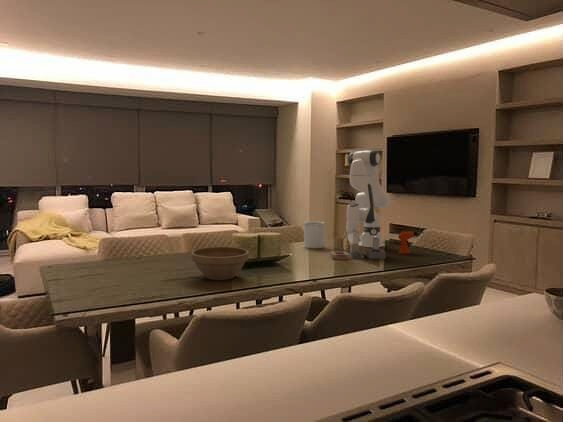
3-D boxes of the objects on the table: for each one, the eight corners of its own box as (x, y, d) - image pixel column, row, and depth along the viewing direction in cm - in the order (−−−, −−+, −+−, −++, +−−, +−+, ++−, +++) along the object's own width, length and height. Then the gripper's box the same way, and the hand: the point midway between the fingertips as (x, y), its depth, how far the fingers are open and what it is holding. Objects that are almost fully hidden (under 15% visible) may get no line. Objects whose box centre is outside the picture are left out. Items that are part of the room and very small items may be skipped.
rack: (330, 256, 289) (330, 251, 288) (346, 256, 289) (346, 251, 289) (332, 259, 279) (332, 254, 278) (349, 259, 279) (349, 254, 279)
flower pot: (254, 281, 221) (254, 254, 220) (194, 285, 213) (194, 257, 212) (242, 269, 248) (242, 245, 247) (189, 272, 240) (188, 247, 239)
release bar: (350, 254, 295) (350, 245, 294) (357, 254, 295) (358, 245, 295) (351, 255, 291) (351, 246, 290) (359, 255, 291) (359, 246, 291)
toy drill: (427, 250, 303) (425, 228, 301) (401, 255, 299) (399, 232, 297) (423, 249, 307) (421, 227, 306) (397, 254, 304) (395, 231, 302)
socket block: (366, 255, 291) (366, 249, 291) (381, 255, 291) (381, 249, 291) (369, 258, 281) (369, 252, 281) (385, 258, 281) (385, 252, 281)
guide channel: (347, 254, 296) (347, 252, 296) (359, 254, 296) (359, 252, 296) (351, 258, 282) (351, 256, 281) (364, 258, 282) (364, 256, 282)
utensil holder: (301, 245, 332) (302, 221, 330) (322, 245, 333) (322, 221, 332) (305, 248, 317) (305, 223, 316) (326, 248, 319) (326, 223, 317)
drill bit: (371, 256, 288) (372, 235, 287) (378, 256, 288) (378, 235, 287) (373, 257, 284) (373, 236, 283) (379, 257, 284) (380, 236, 283)
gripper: (361, 230, 288) (360, 252, 289) (355, 226, 308) (354, 247, 309) (351, 230, 288) (350, 252, 289) (345, 226, 308) (345, 247, 309)
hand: (352, 249), depth 299 cm, fingers closed
